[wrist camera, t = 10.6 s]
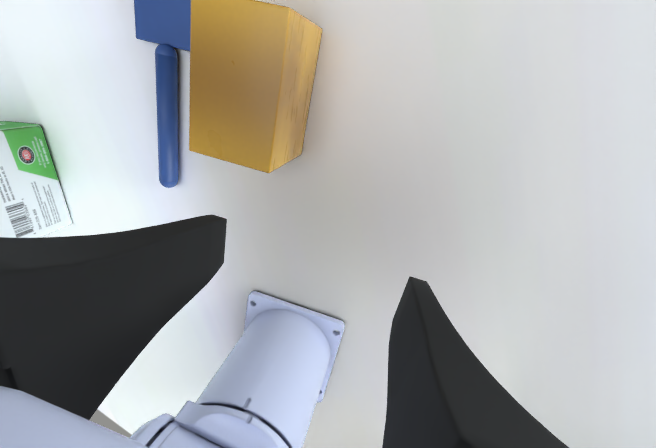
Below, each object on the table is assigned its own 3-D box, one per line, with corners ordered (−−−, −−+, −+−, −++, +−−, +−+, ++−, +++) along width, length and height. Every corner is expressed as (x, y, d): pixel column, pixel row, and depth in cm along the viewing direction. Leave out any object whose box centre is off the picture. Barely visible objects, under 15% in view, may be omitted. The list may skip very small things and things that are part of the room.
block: (301, 154, 20) (269, 173, 16) (237, 137, 21) (188, 150, 16) (322, 28, 17) (290, 7, 12) (246, 12, 18) (190, -14, 13)
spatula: (201, 192, 23) (190, 197, 22) (148, 176, 24) (136, 181, 22) (208, -64, 17) (194, -75, 16) (136, -77, 17) (117, -88, 16)
